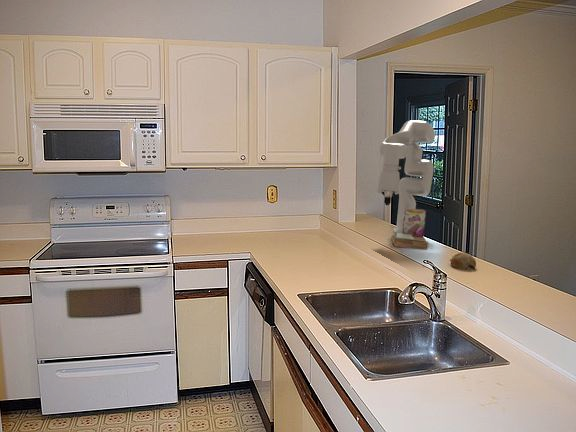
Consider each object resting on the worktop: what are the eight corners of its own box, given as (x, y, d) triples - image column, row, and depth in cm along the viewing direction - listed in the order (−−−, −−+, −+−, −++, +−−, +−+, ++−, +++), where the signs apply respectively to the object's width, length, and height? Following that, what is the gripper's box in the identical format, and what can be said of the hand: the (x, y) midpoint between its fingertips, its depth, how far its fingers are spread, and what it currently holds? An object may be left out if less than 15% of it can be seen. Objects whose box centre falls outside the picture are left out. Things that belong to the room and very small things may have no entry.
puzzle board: (391, 239, 284) (392, 233, 283) (422, 242, 282) (423, 235, 282) (394, 246, 266) (394, 238, 266) (427, 249, 264) (428, 241, 264)
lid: (392, 234, 281) (393, 227, 281) (411, 235, 280) (411, 229, 280) (394, 238, 268) (394, 231, 267) (413, 240, 267) (414, 233, 266)
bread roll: (459, 278, 224) (467, 262, 220) (443, 262, 231) (451, 247, 227) (475, 276, 229) (483, 261, 225) (458, 261, 236) (466, 246, 233)
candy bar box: (401, 239, 286) (404, 209, 283) (400, 238, 291) (403, 207, 288) (423, 241, 285) (426, 210, 282) (422, 240, 290) (425, 209, 287)
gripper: (405, 169, 273) (401, 205, 276) (375, 167, 275) (371, 203, 277) (406, 169, 266) (402, 207, 268) (375, 167, 268) (372, 204, 270)
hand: (387, 204), depth 273 cm, fingers closed
